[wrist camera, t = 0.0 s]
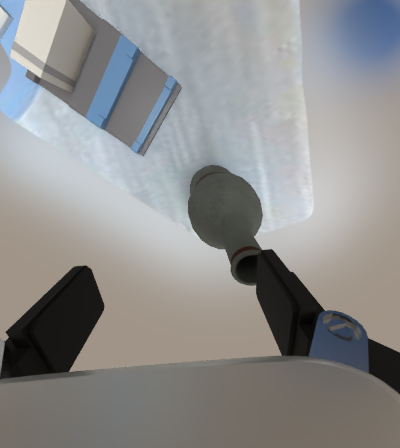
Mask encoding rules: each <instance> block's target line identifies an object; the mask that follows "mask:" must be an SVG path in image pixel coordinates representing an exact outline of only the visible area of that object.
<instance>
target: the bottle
mask: <svg viewBox="0 0 400 448" xmlns="http://www.w3.org/2000/svg"><path fill="white" fill-rule="evenodd" d="M190 194H191V195H190V198H189V201H188V214H189V218H190V221H191V224H192V227H193V229H194V231H195V232H196V233H197V235H198V236H199V237H200V239H201V240H202V241H204V242H205V243H207V244H208V245H210V246H212V247H215V248H218V249H226V252H227V255H228V258H229V261H230V264H231V273H232V276H233V277H234V278H235V280H237V281H238V282H239V283H242V284H245V285H256V282H257V256H258V253H261V250H262V249H261V247H260V246H259V244H258V243H257V241H256V240H255V238H254V236H255V235H256V234H257V232H258V230H259V228H260V226H261V221H262V216H263V214H262V208H261V203H260V199H259V198H258V196H257V194H256V192H255V190H254V189H253V188H252V187H251V185H250V184H249V183H247V182H246V181H245V180H244V179H243V178H241V177H239V176H236V175H234V174H232V173H230V172H229V171H228V170H227V169H225V168H223V167H220V166H213V165H211V166H207V167H204V168H202V169H201V170H199V171H198V172H197V173H196V174H195V176H194V177H193V179H192V182H191V184H190Z"/></svg>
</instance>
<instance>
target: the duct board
mask: <svg viewBox="0 0 400 448" xmlns="http://www.w3.org/2000/svg"><path fill="white" fill-rule="evenodd" d="M69 1H70V2H71V3H72V5H73V6H74V7H75V8H76V9H77V11H78V12H79V13H80V14H81V15H82V17H83V18H84V19H85V20H86V21H87V23H88V24H89V25H90V26H91V28H92V29H93V30H94V31H95V35H94V37H93V40H92V42H91V45H90V47H89V50H88V52H87V55H86V58H85V60H84V63H83V65H82V68H81V70H80V73H79V75H78V78H77V80H76V84H75V86H74V88H73V91H72V93H71V92H69V91H66V90H64V89H62V88H60V87H58V86H56V85H54V84H52V83H50V82H48V81H46V80H44V79H41V78H40V77H38V76H37V75H35V74H34V73H33V72H31V71H30V70H27V73H26V77H27V78H29V79H30V80H32V81H33V82H35V83H38V84H40V85H41V86H42V87H44V88H45V89H47V90H48V91H50V92H51V93H53V94H54V95H55V96H57V97H58V98H60V99H61V100H63V101H64V102H65V103H67V104H68V105H69V107H71V108H72V109H74V110H75V111H76V112H78V113H79V114H81V115H82V116H84V117H85V118H87V119H88V120H89V121H91V122H92V123H94V124H95V125H97V126H98V127H100V128H101V129H104V130H106V131H107V132H109V133H110V134H112V135H113V136H114V137H116V138H117V139H119V140H120V141H122V142H123V143H125V144H126V145H127V146H129V147H130V148H131V150H133V151H134V152H136V153H139V154H140V155H142V156H143V155H144V154H145V152H146V150H147V148H148V147H149V145H150V143H151V141H152V139H153V138H154V136H155V134H156V132H157V131H158V129H159V127H160V125H161V124H162V122H163V120H164V118H165V116H166V115H167V113H168V111H169V109H170V108H171V106H172V104H173V102H174V100H175V99H176V97H177V95H178V93H179V92H180V90H181V88H182V87H181V86H180V85H179V84H178V83H177V80H175V79H174V78H173V77H172V76H168V75H167V74H166V73H165V72H164V71H162V70H161V69H160V68H159V67H158V66H156V65H155V64H154V63H153V62H152V61H150V60H149V59H148V58H147V57H146V56H145V55H143V54H142V53H141V52H140V50H139V48H137V47H136V46H135V45H134V44H133V43H132V42H130V41H129V40H128V39H127V38H126V37H124V36H123V35H122V34H121V33H120V32H119V31H117V30H116V29H115V28H114V27H113V26H111V25H110V24H109V23H108V22H107V21H105V20H104V19H103V20H102V19H101V18H99V17H98V16H97V15H96V14H95V13H93V12H92V11H91V10H90V9H89V8H87V7H86V6H85V5H84V4H83V3H82V2H80V1H79V0H69Z"/></svg>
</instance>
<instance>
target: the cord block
mask: <svg viewBox="0 0 400 448" xmlns="http://www.w3.org/2000/svg"><path fill="white" fill-rule="evenodd" d="M94 35H95V31H94V30H93V29H92V28H91V26H90V25H89V24H88V23H87V21H86V20H85V19H84V18H83V17H82V15H81V14H80V13H79V12H78V11H77V9H76V8H75V7H74V6H73V5H72V3H71V2H70V1H69V0H26V1H25V5H24V8H23V12H22V15H21V19H20V22H19V26H18V30H17V33H16V37H15V40H14V42H13V46H12V51H11V55H10V57H11V58H13V59H14V60H16V61H17V62H18V63H20V64H21V65H23V66H24V67H25V68H27V69H28V70H30V71H31V72H33V73H34V74H35V75H37V76H38V77H40V78H41V79H44V80H46V81H48V82H50V83H52V84H54V85H56V86H58V87H60V88H62V89H64V90H66V91H69V92H71V93H72V91H73V88H74V86H75V84H76V80H77V78H78V75H79V73H80V70H81V68H82V65H83V63H84V60H85V58H86V55H87V52H88V50H89V47H90V45H91V42H92V40H93V37H94Z"/></svg>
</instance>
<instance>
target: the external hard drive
mask: <svg viewBox="0 0 400 448" xmlns="http://www.w3.org/2000/svg"><path fill="white" fill-rule="evenodd" d="M12 20H13V18H12V17H11V16H10V15H9V14H8V13H7V12H6V11H5V9H4V8H3V7H2V6H1V5H0V40H1V38H2V37H3V35H4V33H5V32H6V30H7V29H8V27H9V25H10V24H11V22H12ZM0 44H1V43H0Z"/></svg>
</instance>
